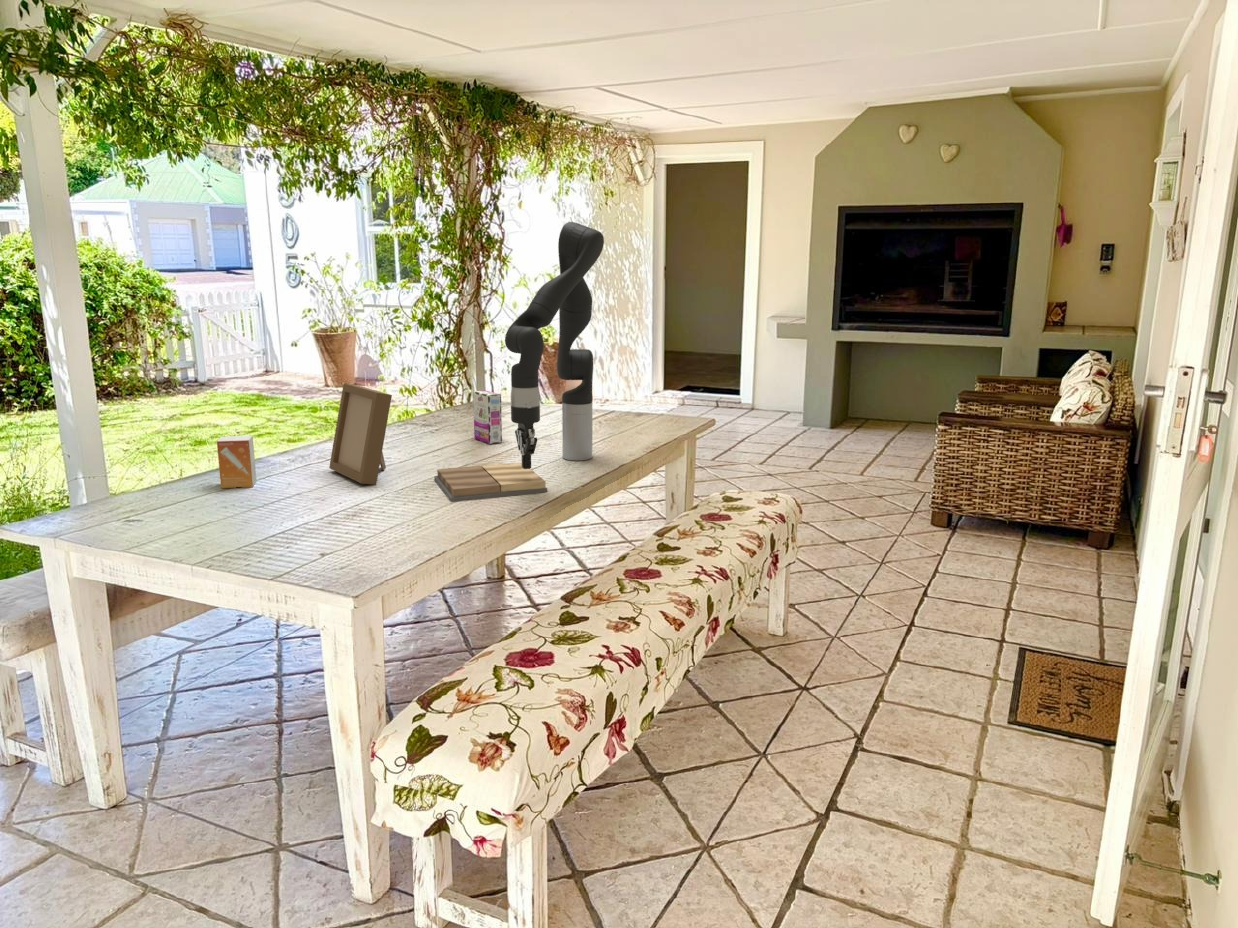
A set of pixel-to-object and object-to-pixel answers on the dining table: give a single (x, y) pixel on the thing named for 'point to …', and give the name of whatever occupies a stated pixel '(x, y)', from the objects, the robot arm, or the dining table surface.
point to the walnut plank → (468, 481)
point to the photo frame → (360, 433)
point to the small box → (236, 461)
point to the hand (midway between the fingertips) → (526, 468)
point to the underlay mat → (480, 496)
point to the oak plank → (514, 477)
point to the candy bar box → (487, 417)
